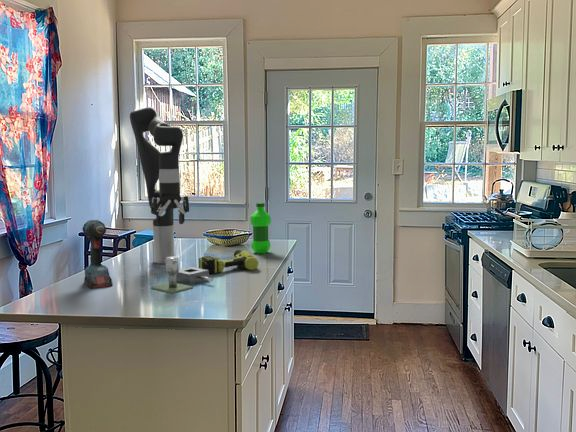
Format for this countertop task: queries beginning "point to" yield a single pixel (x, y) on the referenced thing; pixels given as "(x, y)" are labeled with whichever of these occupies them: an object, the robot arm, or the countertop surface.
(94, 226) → the power drill
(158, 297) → the countertop surface
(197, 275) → the block
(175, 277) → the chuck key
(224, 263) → the cordless drill
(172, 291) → the mat
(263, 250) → the plastic bottle
